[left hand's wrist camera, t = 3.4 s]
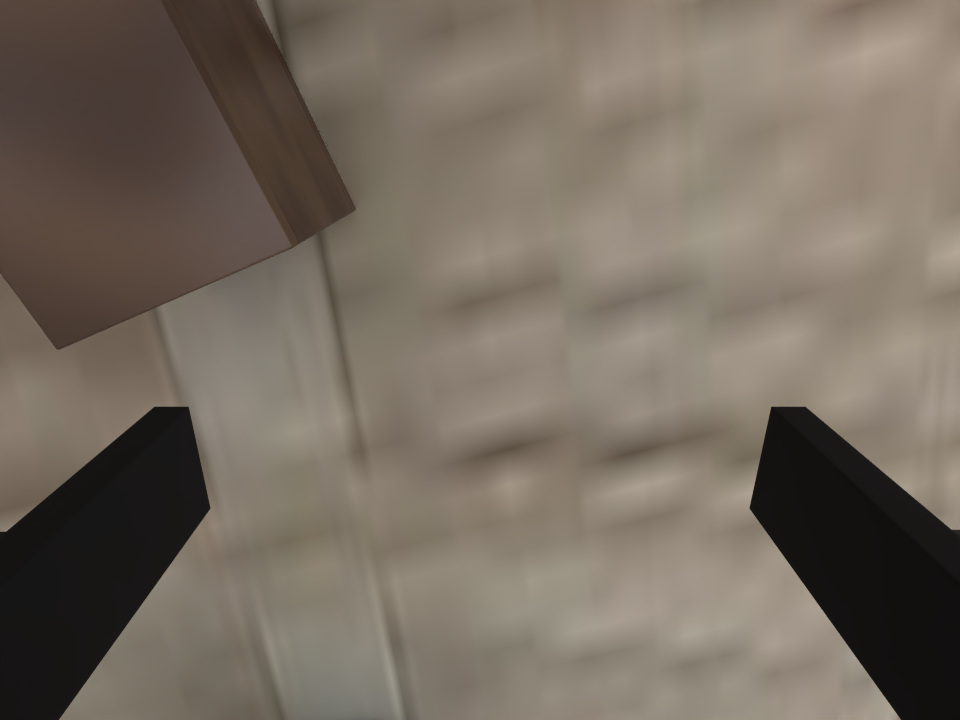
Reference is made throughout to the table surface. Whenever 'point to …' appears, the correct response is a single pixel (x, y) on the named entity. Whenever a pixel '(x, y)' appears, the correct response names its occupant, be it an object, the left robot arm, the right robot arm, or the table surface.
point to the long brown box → (148, 155)
